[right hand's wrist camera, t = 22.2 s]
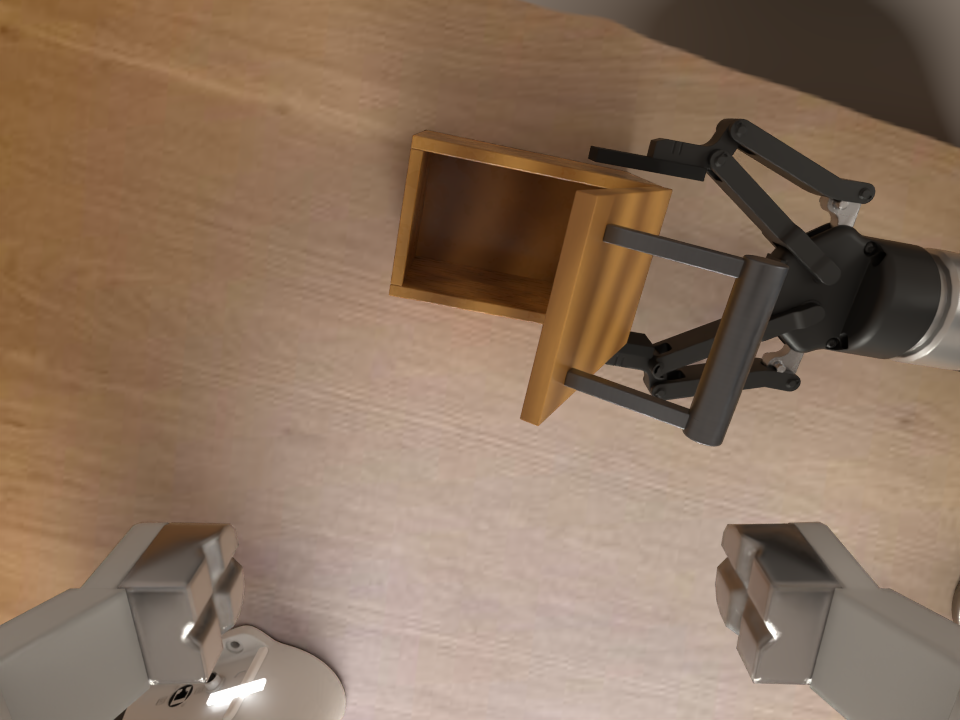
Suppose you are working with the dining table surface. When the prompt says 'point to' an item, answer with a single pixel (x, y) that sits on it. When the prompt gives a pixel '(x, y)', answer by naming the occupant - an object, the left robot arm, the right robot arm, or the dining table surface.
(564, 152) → the dining table surface
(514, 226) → the chest
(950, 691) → the right robot arm
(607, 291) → the lid
